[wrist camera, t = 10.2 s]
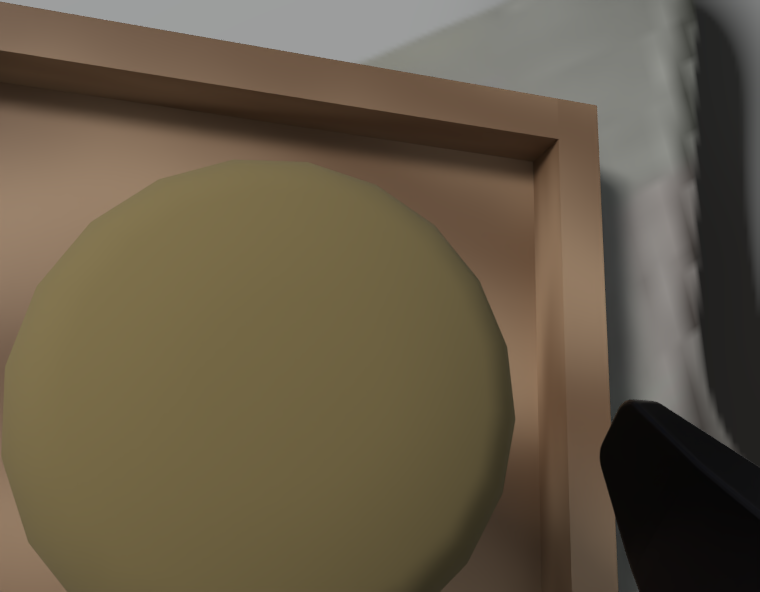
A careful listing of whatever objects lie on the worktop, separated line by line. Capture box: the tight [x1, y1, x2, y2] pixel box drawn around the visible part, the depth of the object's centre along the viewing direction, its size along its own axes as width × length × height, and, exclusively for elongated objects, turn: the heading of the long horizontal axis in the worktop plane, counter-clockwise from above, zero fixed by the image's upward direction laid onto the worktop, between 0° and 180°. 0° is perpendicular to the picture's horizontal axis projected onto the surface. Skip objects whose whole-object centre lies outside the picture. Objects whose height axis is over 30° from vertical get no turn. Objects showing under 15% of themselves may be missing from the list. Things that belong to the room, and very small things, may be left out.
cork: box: [1, 160, 516, 592], centre depth 11 cm, size 6×6×11 cm
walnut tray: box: [0, 2, 618, 592], centre depth 16 cm, size 18×18×2 cm
